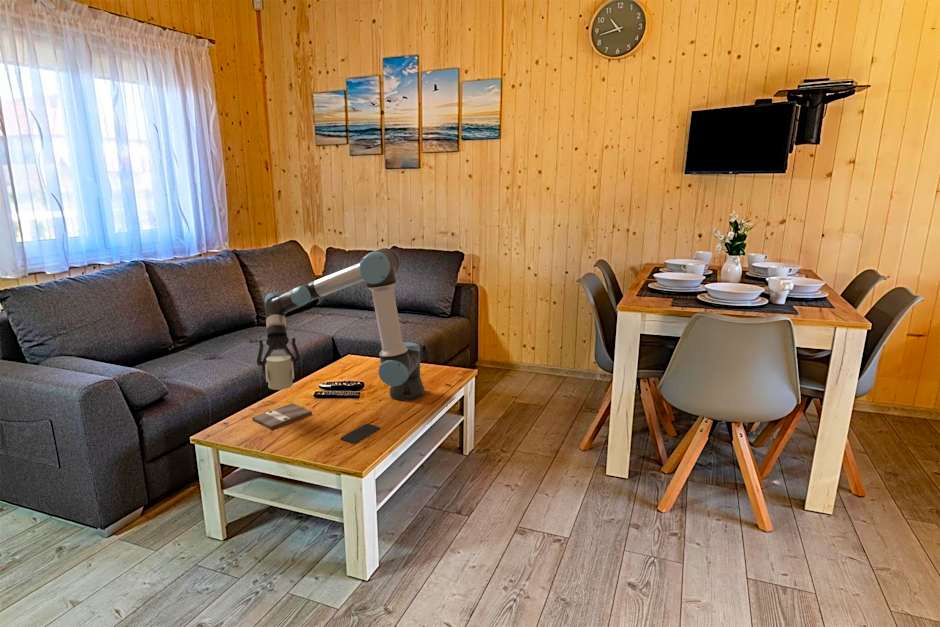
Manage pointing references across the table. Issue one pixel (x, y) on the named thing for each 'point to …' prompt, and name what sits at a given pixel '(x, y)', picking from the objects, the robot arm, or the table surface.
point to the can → (279, 371)
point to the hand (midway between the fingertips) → (280, 379)
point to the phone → (360, 433)
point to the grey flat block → (281, 415)
